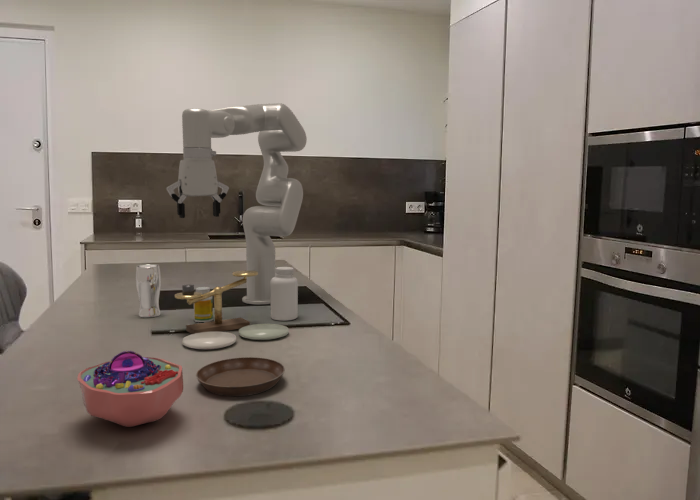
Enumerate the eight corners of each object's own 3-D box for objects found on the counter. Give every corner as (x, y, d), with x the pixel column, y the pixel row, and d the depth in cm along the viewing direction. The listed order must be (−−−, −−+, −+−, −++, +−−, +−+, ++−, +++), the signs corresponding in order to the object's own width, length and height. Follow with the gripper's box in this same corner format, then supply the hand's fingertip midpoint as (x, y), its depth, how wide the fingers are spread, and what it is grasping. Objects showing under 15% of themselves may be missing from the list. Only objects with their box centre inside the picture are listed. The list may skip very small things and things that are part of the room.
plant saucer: (205, 406, 110) (204, 390, 110) (190, 376, 126) (189, 362, 126) (296, 393, 117) (296, 378, 117) (271, 366, 134) (271, 353, 133)
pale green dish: (274, 326, 167) (274, 321, 167) (297, 336, 157) (297, 331, 157) (230, 333, 160) (230, 327, 160) (252, 344, 149) (252, 339, 149)
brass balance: (251, 320, 174) (251, 269, 172) (262, 325, 168) (262, 273, 166) (172, 332, 160) (170, 277, 159) (181, 338, 155) (179, 281, 153)
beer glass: (154, 318, 175) (152, 268, 173) (132, 317, 176) (130, 267, 175) (166, 313, 182) (164, 264, 180) (145, 312, 183) (143, 263, 181)
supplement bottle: (192, 319, 174) (191, 287, 173) (210, 317, 177) (210, 285, 176) (196, 323, 170) (195, 290, 168) (215, 321, 172) (214, 289, 171)
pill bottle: (302, 316, 179) (302, 267, 177) (289, 322, 172) (288, 270, 170) (280, 313, 182) (279, 265, 180) (265, 319, 175) (264, 268, 173)
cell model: (84, 453, 91) (80, 381, 90) (76, 407, 109) (73, 347, 107) (196, 431, 99) (194, 365, 98) (171, 392, 117) (170, 335, 115)
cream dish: (223, 334, 159) (223, 329, 159) (244, 345, 148) (244, 340, 148) (175, 341, 151) (175, 336, 151) (194, 354, 141) (193, 348, 141)
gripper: (223, 155, 173) (224, 215, 175) (162, 154, 164) (164, 217, 166) (232, 155, 166) (233, 216, 169) (169, 154, 157) (171, 219, 160)
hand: (199, 217), depth 167 cm, fingers open, 9 cm apart
